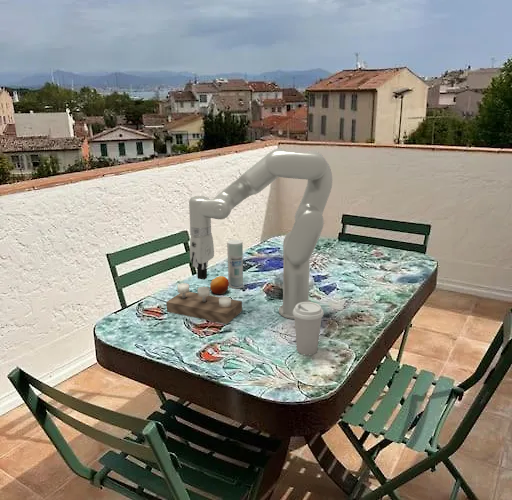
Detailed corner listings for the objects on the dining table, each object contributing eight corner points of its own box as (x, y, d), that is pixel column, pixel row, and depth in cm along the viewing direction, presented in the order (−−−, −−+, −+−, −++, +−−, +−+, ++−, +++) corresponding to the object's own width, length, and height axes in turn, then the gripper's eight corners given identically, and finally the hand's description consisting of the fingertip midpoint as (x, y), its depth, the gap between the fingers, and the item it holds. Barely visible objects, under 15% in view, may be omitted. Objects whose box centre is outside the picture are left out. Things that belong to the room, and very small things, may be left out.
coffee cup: (289, 343, 149) (290, 301, 145) (318, 342, 150) (320, 300, 146) (294, 358, 140) (295, 314, 136) (325, 357, 141) (327, 312, 137)
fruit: (230, 293, 186) (220, 277, 185) (215, 301, 189) (204, 285, 188) (235, 286, 194) (225, 270, 193) (220, 294, 197) (210, 278, 195)
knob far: (191, 296, 177) (191, 284, 176) (185, 300, 173) (184, 288, 172) (182, 294, 179) (181, 282, 177) (176, 299, 175) (175, 286, 174)
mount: (242, 311, 174) (241, 301, 173) (227, 324, 163) (226, 313, 162) (184, 300, 184) (183, 290, 183) (166, 311, 174) (166, 301, 173)
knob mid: (212, 300, 174) (211, 287, 172) (206, 304, 170) (205, 291, 168) (202, 298, 175) (201, 285, 174) (196, 302, 172) (195, 290, 170)
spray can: (240, 282, 202) (240, 239, 196) (245, 287, 196) (244, 243, 190) (226, 284, 200) (225, 240, 195) (230, 289, 195) (229, 244, 189)
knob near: (233, 310, 171) (232, 297, 169) (227, 315, 167) (227, 302, 165) (222, 308, 173) (222, 296, 171) (217, 313, 169) (216, 300, 167)
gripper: (198, 237, 156) (200, 286, 162) (219, 227, 169) (220, 273, 175) (180, 234, 159) (182, 283, 165) (202, 225, 172) (204, 270, 178)
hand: (202, 278), depth 170 cm, fingers closed
